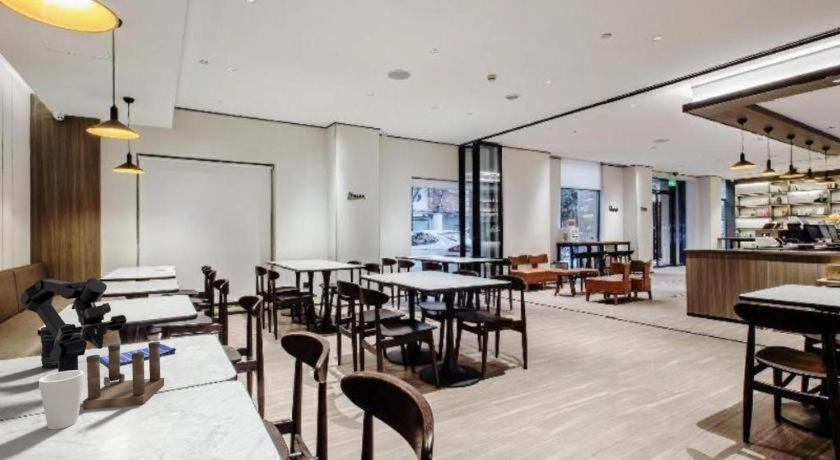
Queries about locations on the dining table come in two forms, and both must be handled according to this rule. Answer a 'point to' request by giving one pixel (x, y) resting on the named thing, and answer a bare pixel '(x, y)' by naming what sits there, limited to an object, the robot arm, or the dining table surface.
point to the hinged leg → (114, 362)
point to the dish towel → (127, 356)
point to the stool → (124, 382)
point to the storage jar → (47, 349)
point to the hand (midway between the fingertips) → (100, 347)
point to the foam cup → (61, 397)
